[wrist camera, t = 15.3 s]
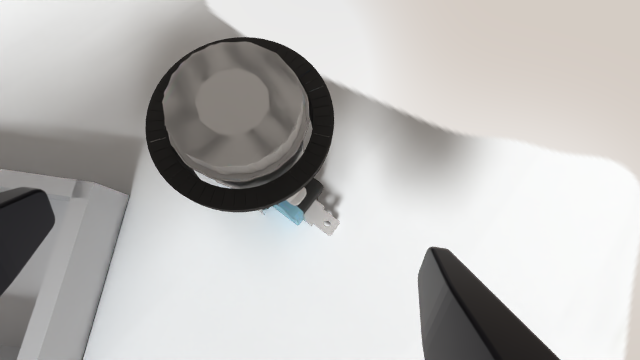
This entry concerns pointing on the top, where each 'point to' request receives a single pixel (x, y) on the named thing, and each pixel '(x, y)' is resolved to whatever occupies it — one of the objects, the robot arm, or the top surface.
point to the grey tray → (61, 270)
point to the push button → (244, 129)
